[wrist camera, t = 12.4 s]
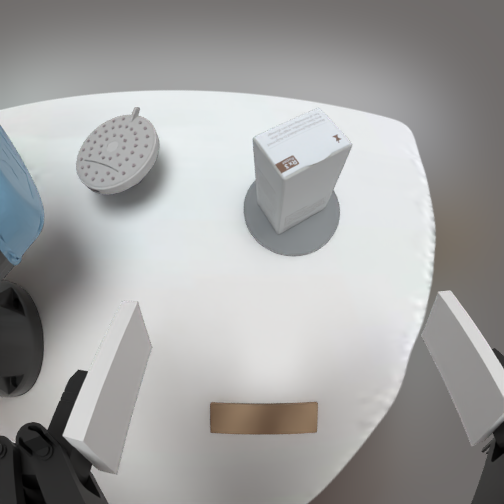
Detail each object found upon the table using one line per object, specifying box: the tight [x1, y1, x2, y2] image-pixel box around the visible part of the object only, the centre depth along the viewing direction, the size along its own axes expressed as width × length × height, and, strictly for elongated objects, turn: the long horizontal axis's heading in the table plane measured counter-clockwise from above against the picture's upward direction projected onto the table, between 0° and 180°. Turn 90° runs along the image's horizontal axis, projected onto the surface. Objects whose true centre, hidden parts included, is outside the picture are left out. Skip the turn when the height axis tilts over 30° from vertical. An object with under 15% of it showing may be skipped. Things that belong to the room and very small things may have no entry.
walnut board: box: [210, 402, 318, 434], centre depth 26 cm, size 10×3×1 cm, turn 90°
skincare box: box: [253, 108, 352, 234], centre depth 26 cm, size 6×4×12 cm
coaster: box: [244, 180, 340, 256], centre depth 32 cm, size 10×10×1 cm
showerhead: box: [76, 107, 159, 195], centre depth 31 cm, size 9×7×10 cm
